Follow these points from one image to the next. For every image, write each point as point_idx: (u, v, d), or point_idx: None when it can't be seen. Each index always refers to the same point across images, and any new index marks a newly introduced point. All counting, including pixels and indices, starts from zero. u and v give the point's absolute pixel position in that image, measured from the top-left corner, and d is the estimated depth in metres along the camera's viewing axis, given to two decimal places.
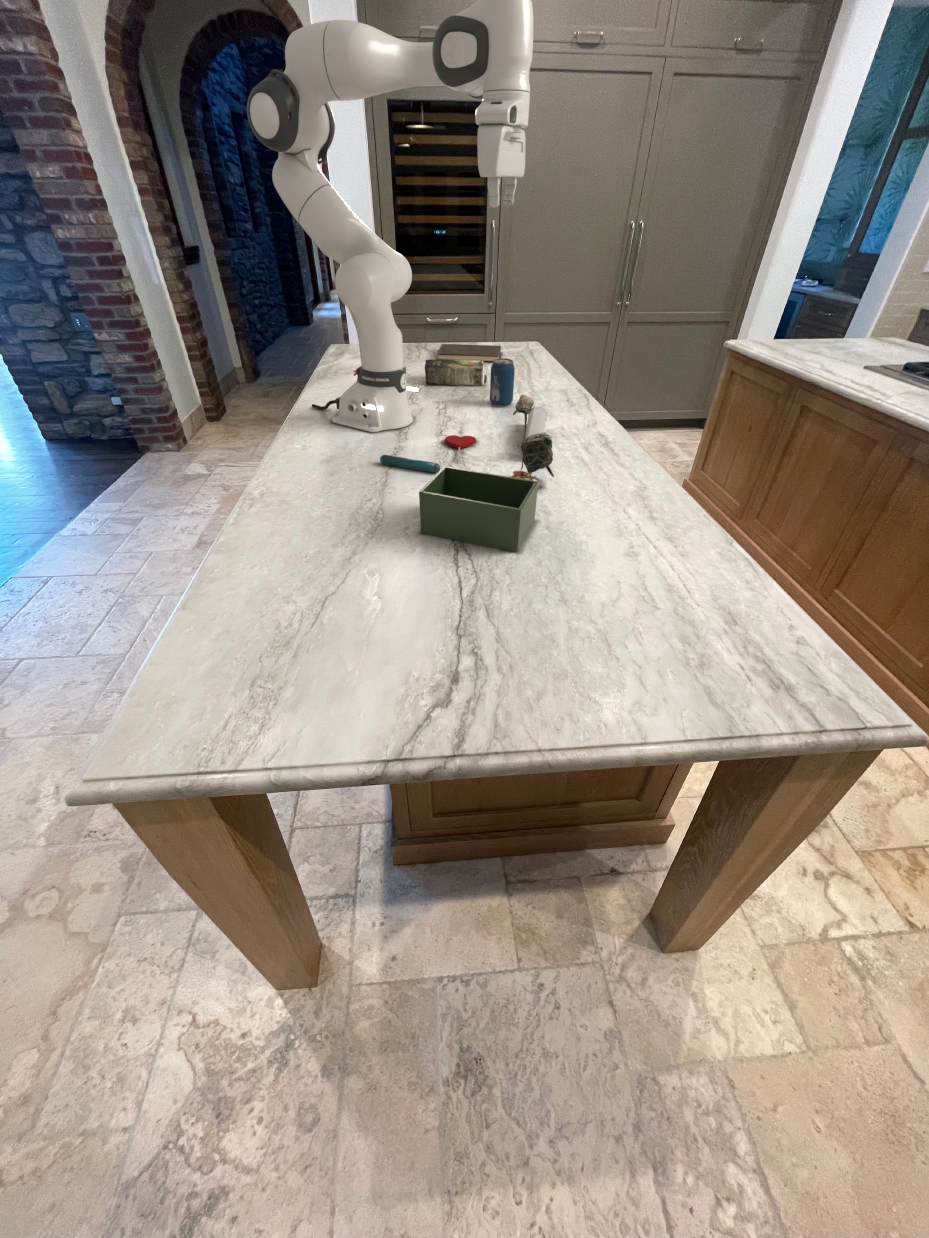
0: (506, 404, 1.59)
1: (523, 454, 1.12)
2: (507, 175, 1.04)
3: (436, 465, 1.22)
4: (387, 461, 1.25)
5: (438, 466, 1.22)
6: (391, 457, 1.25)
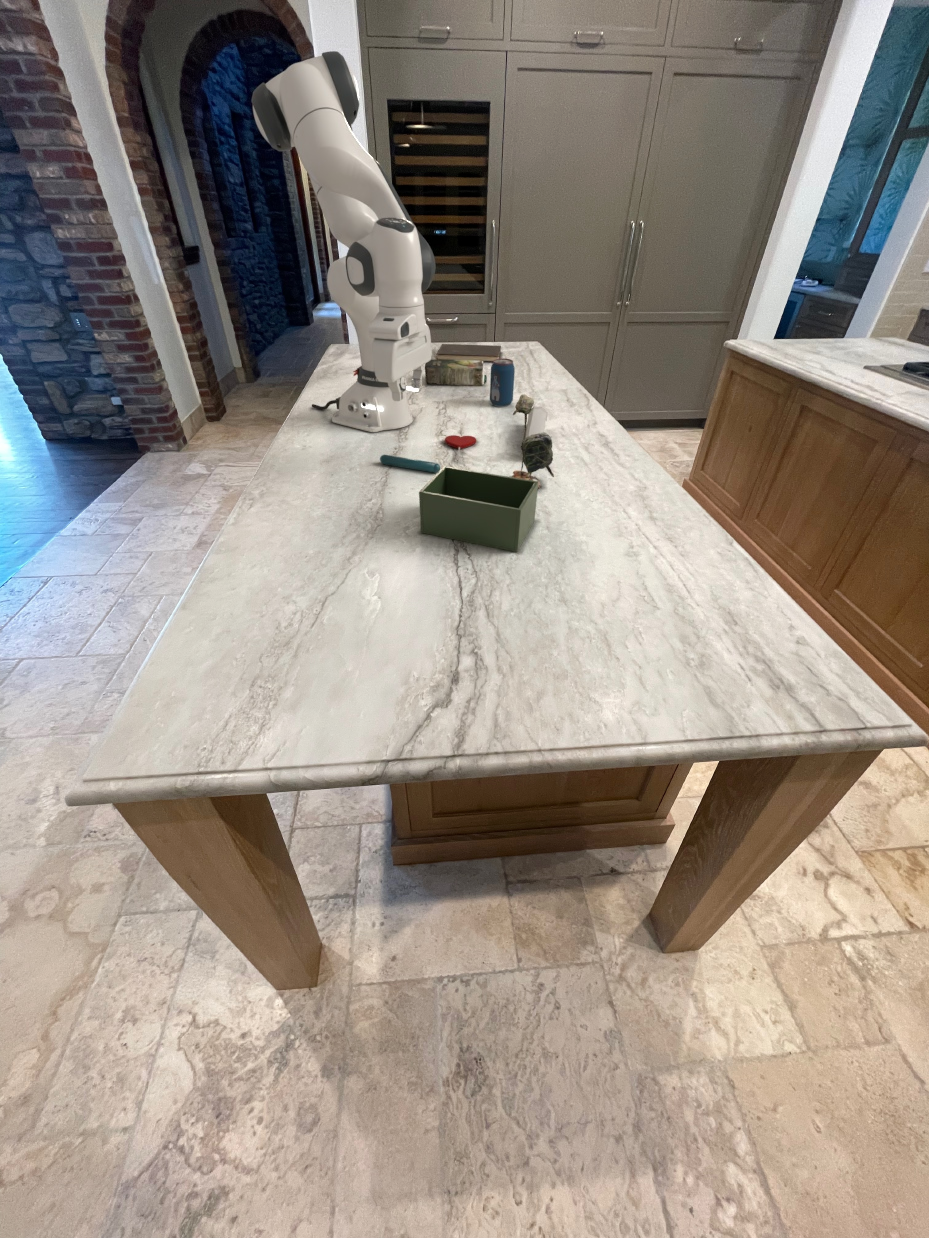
0: (506, 404, 1.59)
1: (523, 454, 1.12)
2: (407, 373, 1.09)
3: (436, 465, 1.22)
4: (387, 461, 1.25)
5: (438, 466, 1.22)
6: (391, 457, 1.25)
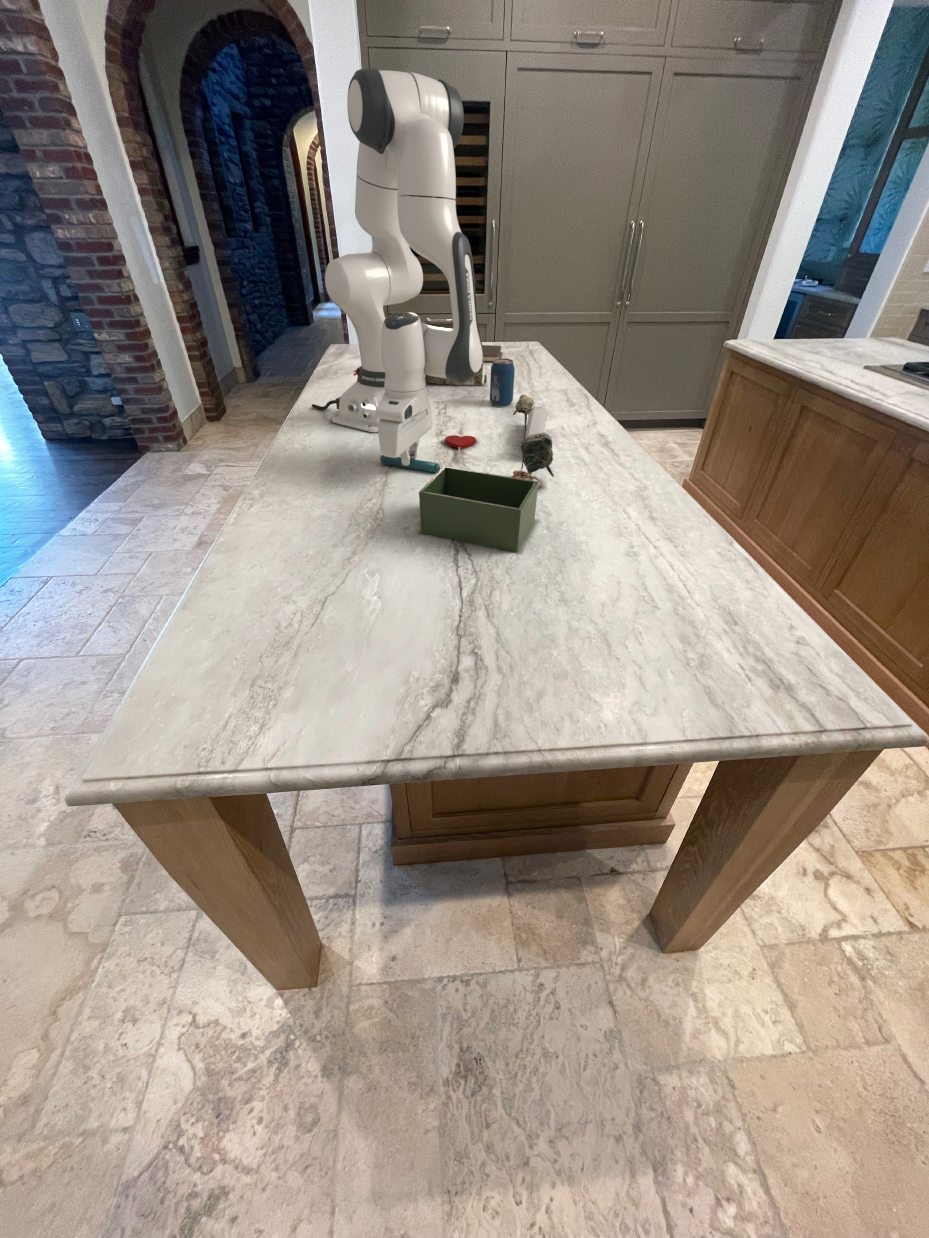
0: (506, 404, 1.59)
1: (523, 454, 1.12)
2: (409, 446, 1.18)
3: (436, 465, 1.22)
4: (387, 461, 1.25)
5: (438, 466, 1.22)
6: (391, 457, 1.25)
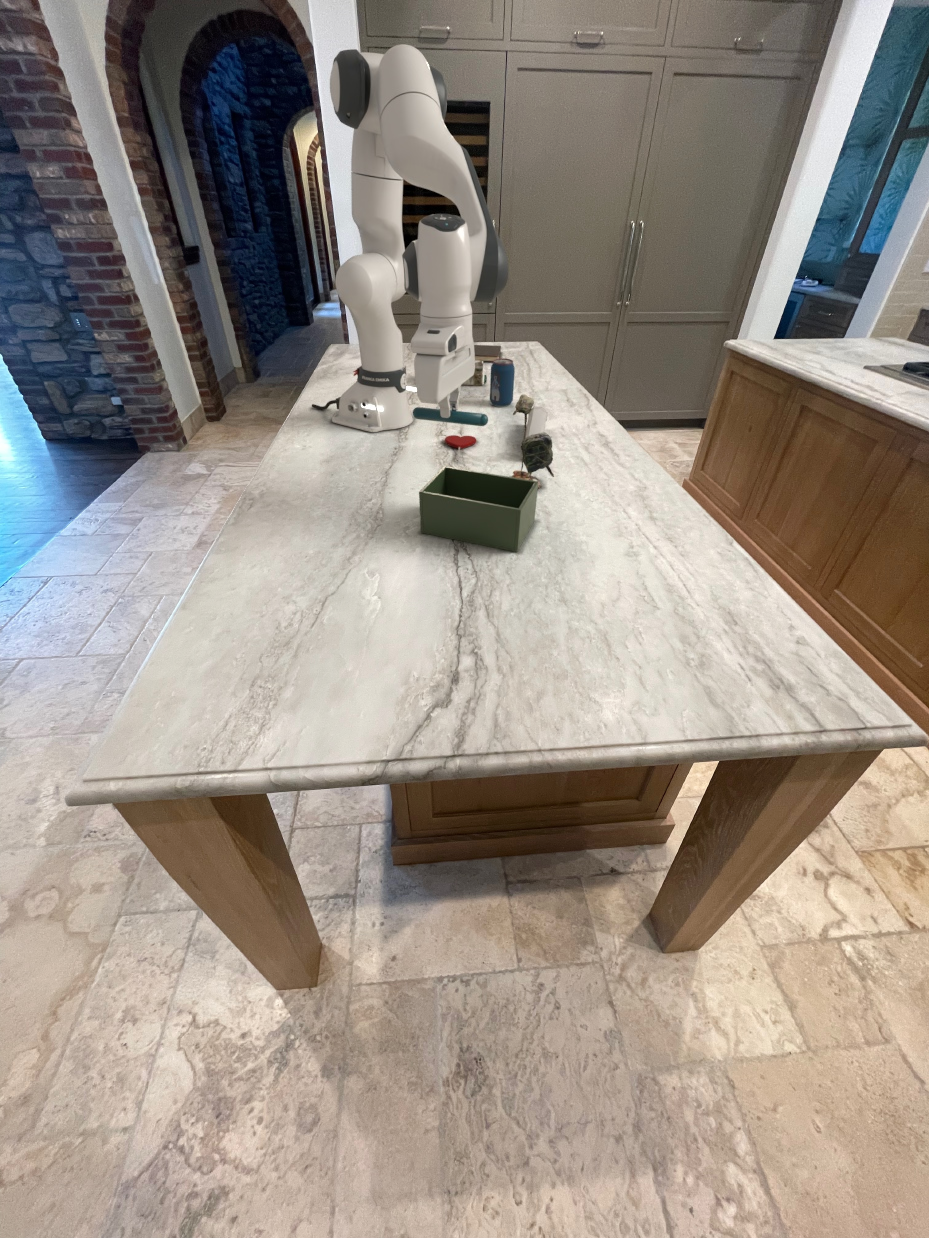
0: (506, 404, 1.59)
1: (523, 454, 1.12)
2: (451, 391, 0.95)
3: (483, 416, 0.99)
4: (422, 415, 1.02)
5: (486, 417, 0.99)
6: (427, 409, 1.02)
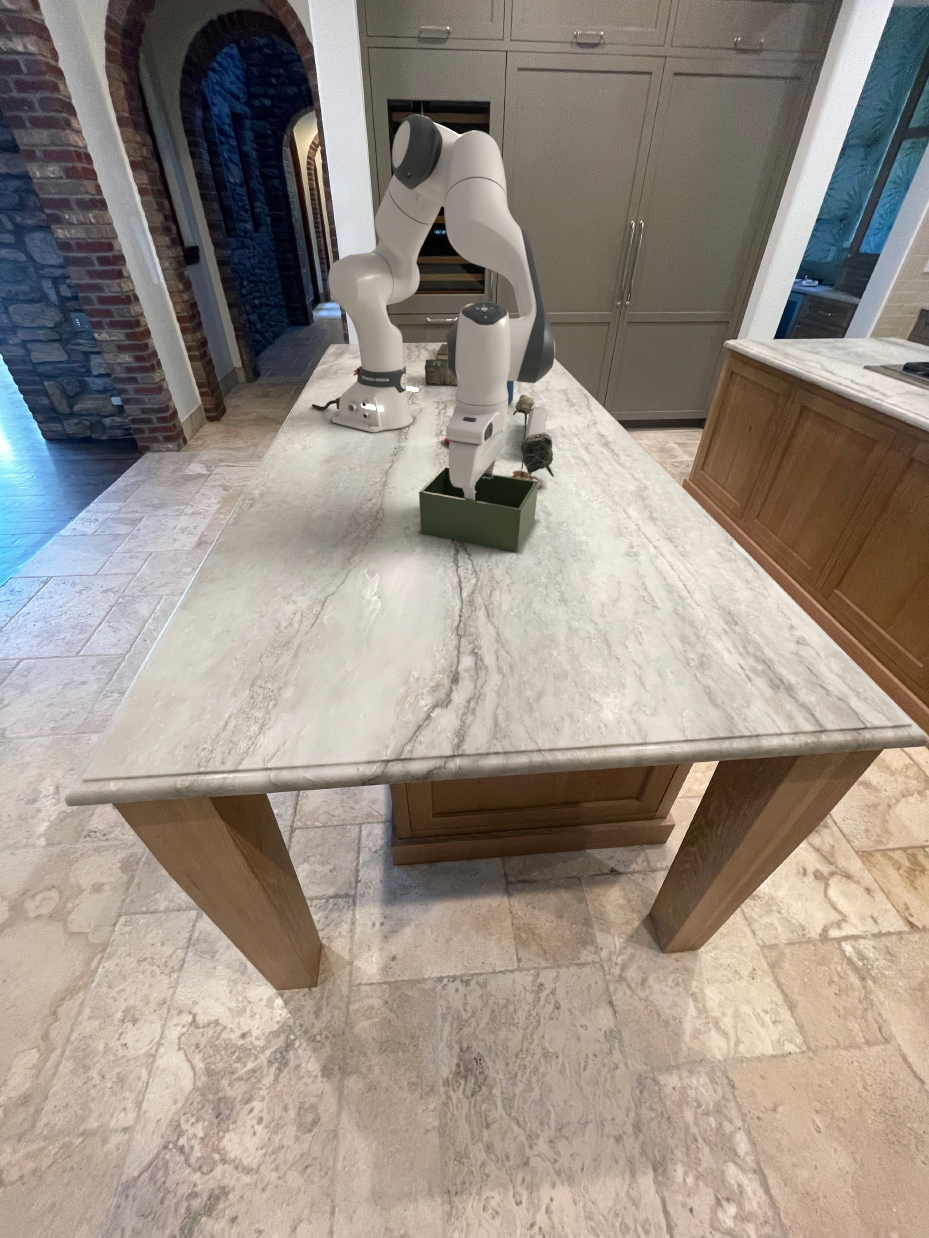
0: None
1: (523, 454, 1.12)
2: (483, 472, 0.94)
3: None
4: None
5: None
6: None
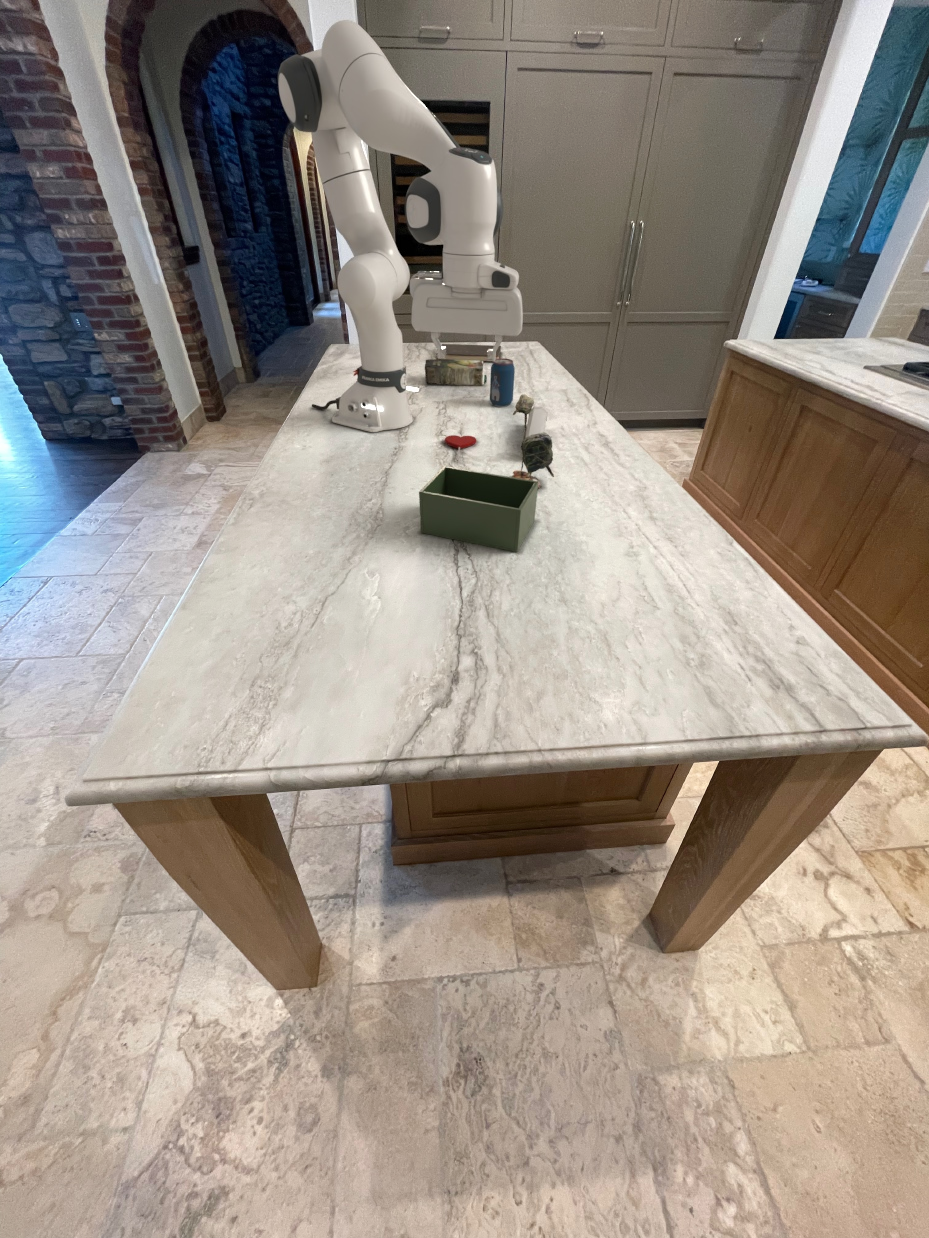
0: (506, 404, 1.59)
1: (523, 454, 1.12)
2: None
3: None
4: None
5: None
6: None
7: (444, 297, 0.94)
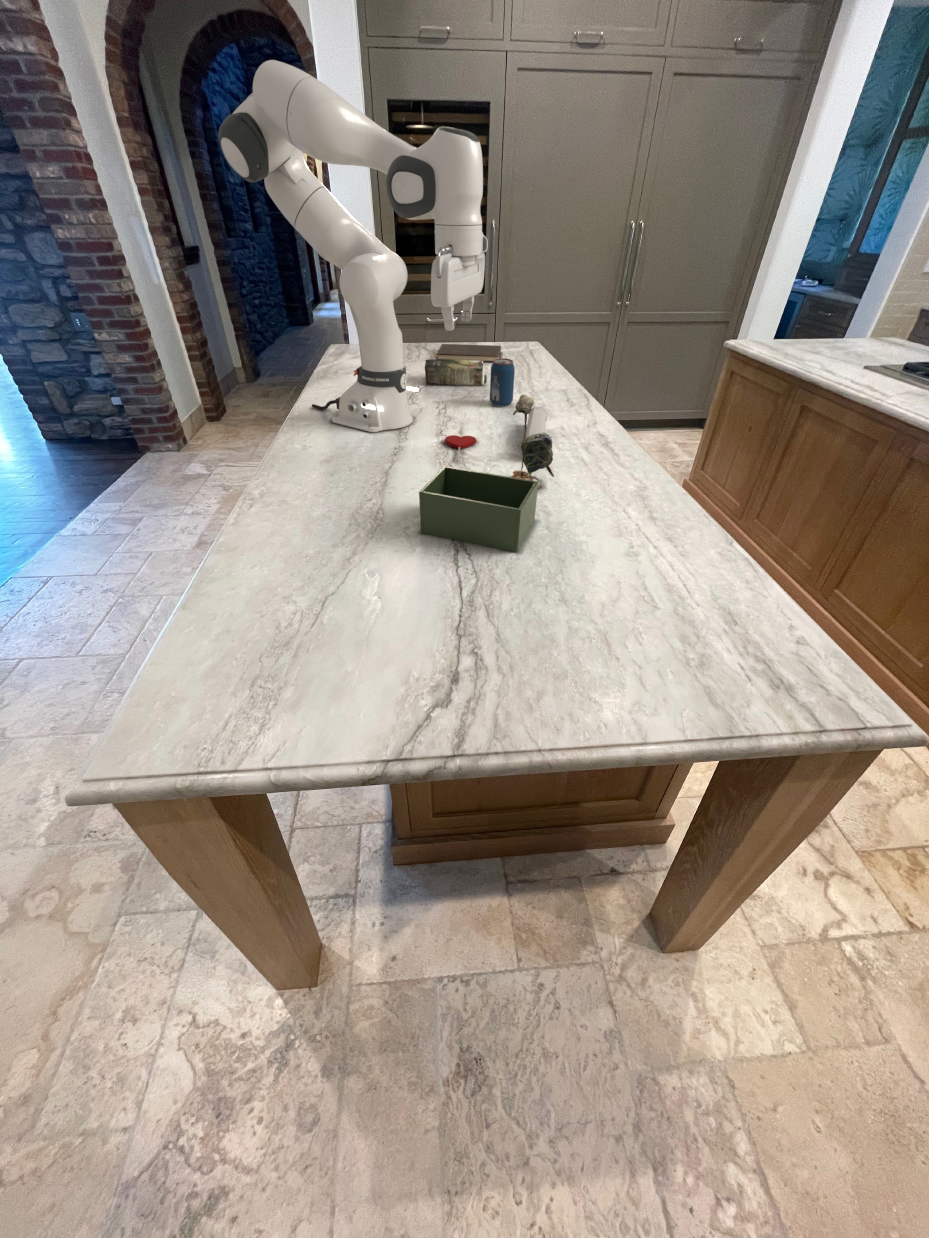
0: (506, 404, 1.59)
1: (523, 454, 1.12)
2: None
3: None
4: None
5: None
6: None
7: (459, 268, 1.00)
